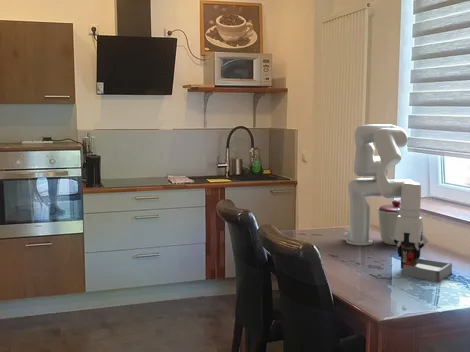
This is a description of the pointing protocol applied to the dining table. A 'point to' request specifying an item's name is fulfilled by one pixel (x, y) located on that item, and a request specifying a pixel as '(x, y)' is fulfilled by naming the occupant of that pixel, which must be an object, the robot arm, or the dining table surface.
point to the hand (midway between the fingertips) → (408, 257)
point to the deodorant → (407, 252)
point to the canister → (388, 221)
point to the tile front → (434, 268)
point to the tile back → (422, 266)
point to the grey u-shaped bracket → (428, 270)
